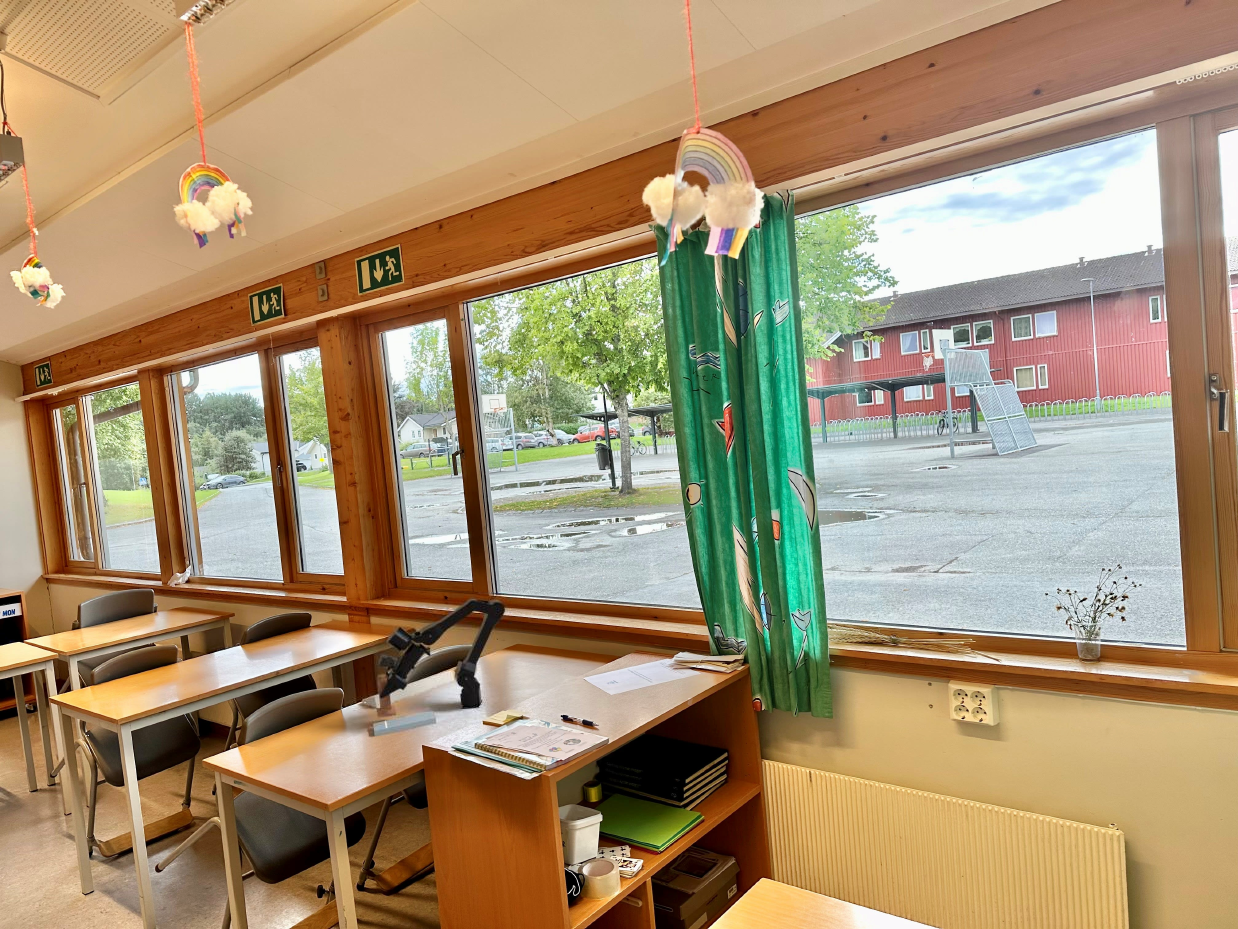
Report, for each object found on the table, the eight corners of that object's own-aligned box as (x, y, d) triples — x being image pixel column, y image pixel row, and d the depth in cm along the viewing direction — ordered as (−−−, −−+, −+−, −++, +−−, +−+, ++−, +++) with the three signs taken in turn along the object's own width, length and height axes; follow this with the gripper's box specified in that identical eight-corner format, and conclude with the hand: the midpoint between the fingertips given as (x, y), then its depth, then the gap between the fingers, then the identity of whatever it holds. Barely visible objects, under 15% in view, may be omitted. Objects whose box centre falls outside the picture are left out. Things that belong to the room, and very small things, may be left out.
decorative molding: (365, 712, 289) (377, 709, 282) (362, 699, 289) (374, 696, 283) (441, 685, 314) (454, 682, 307) (438, 673, 314) (451, 670, 308)
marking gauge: (395, 710, 268) (390, 671, 268) (396, 714, 264) (391, 675, 263) (377, 714, 266) (372, 674, 266) (377, 718, 262) (373, 678, 261)
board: (433, 716, 268) (433, 710, 268) (436, 723, 260) (435, 717, 260) (373, 728, 261) (373, 723, 261) (374, 736, 253) (374, 730, 253)
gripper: (389, 639, 275) (360, 676, 271) (393, 651, 257) (361, 690, 254) (414, 657, 277) (386, 693, 274) (419, 670, 260) (389, 709, 256)
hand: (380, 696), depth 264 cm, fingers closed on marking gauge, 3 cm apart
